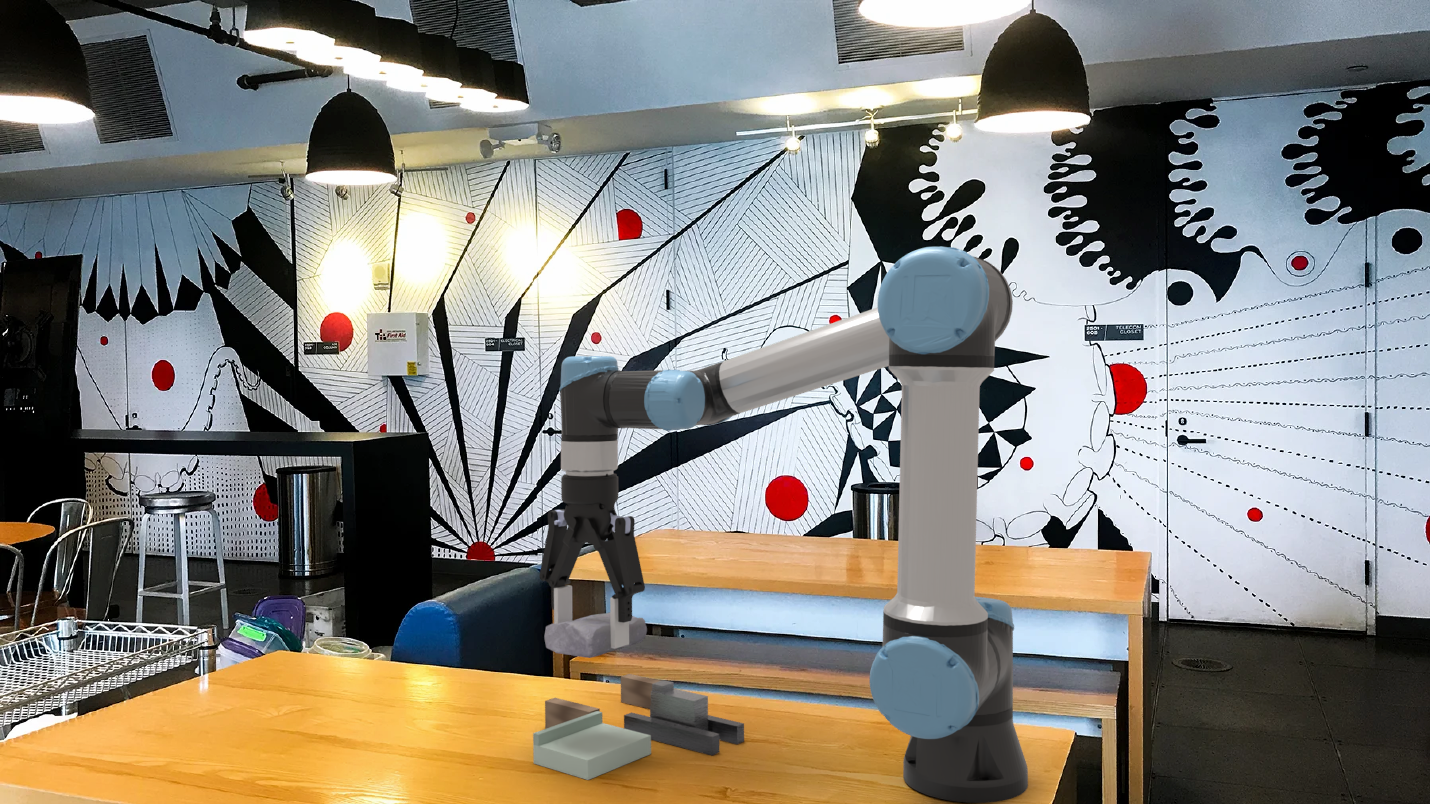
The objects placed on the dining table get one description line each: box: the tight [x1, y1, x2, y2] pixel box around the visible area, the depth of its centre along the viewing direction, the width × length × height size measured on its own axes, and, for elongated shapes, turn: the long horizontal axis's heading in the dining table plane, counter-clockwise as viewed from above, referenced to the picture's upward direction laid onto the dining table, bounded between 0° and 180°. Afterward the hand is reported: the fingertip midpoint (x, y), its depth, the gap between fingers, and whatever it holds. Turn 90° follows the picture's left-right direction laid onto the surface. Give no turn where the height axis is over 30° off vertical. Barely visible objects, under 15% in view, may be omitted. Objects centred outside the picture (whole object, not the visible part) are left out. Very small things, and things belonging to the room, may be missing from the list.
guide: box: [623, 706, 745, 756], centre depth 155 cm, size 16×7×2 cm, turn 52°
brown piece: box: [544, 673, 661, 729], centre depth 164 cm, size 9×18×4 cm, turn 142°
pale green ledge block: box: [532, 711, 652, 781], centre depth 146 cm, size 10×12×4 cm
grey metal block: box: [651, 679, 709, 731], centre depth 155 cm, size 8×3×7 cm, turn 52°
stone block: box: [543, 612, 648, 659], centre depth 146 cm, size 12×5×10 cm
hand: (591, 640), depth 146 cm, fingers closed on stone block, 10 cm apart
